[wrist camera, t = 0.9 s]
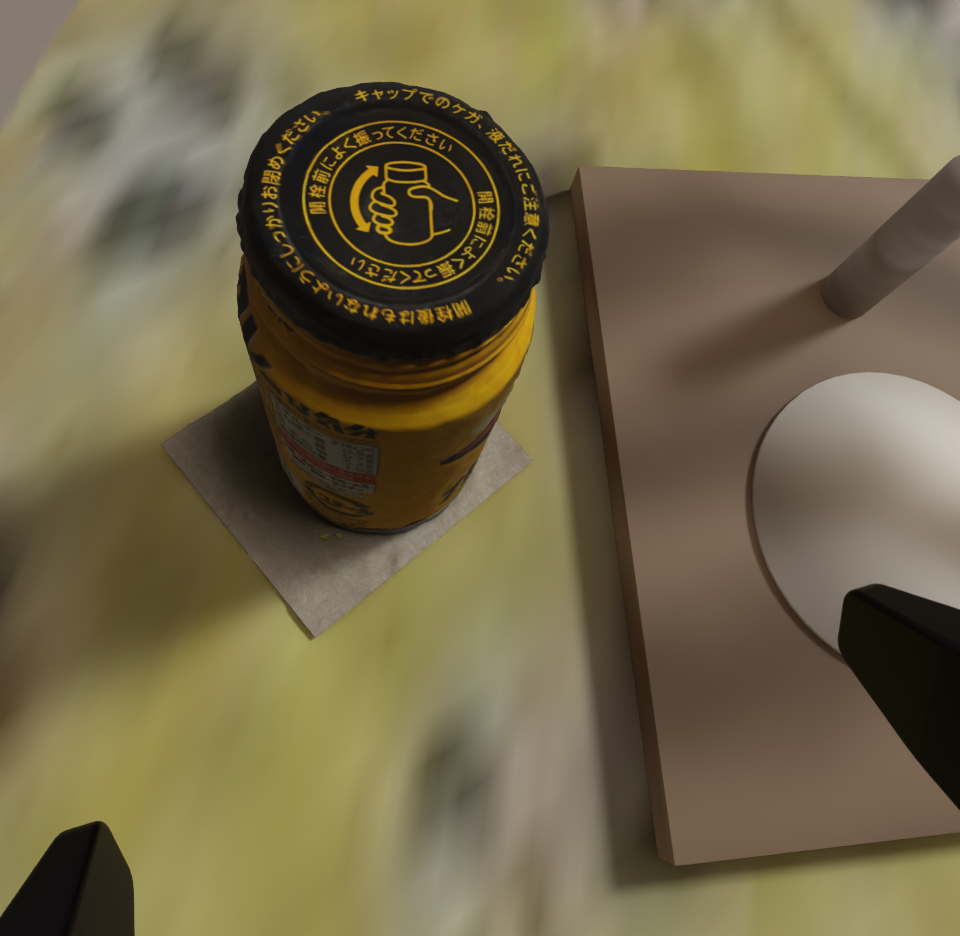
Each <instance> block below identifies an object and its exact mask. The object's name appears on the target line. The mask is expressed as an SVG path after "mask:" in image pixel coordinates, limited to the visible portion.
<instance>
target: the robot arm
mask: <svg viewBox="0 0 960 936" xmlns="http://www.w3.org/2000/svg"><path fill="white" fill-rule="evenodd" d="M838 647H839V650H840V653H841V655H842V657H843V659H844V661H845V662H846V663H847V665H848V666H849V668H850V669H851V670H852V672H853V673H854V675H855V676H856V677H857V679H858V680H859V682H860V683H861V684H862V686H863V687H864V689H865V690H866V691H867V693H868V694H869V696H870V697H871V698H872V700H873V701H874V703H875V704H876V705H877V707H878V708H879V709H880V711H881V712H882V714H883V715H884V716H885V718H886V719H887V721H888V722H889V723H890V725H891V726H892V728H893V729H894V730H895V732H896V733H897V735H898V736H899V737H900V739H901V740H902V742H903V743H904V744H905V746H906V747H907V748H908V750H909V751H910V752H911V754H912V755H913V756H914V758H915V759H916V760H917V761H918V763H919V764H920V765H921V766H922V767H923V769H924V770H925V771H926V772H927V773H928V775H929V776H930V777H931V778H932V779H933V780H934V782H935V783H936V784H937V785H938V786H939V787H940V789H941V790H942V791H943V792H944V793H945V794H946V795H947V797H948V798H949V799H950V800H951V801H952V802H953V804H954V805H955V806H956V807H957V808H958V809H959V811H960V609H957V608H954V607H951V606H948V605H945V604H942V603H939V602H936V601H933V600H930V599H927V598H924V597H920V596H917V595H914V594H911V593H908V592H905V591H902V590H899V589H896V588H893V587H890V586H886V585H883V584H878V583H875V584H869V585H866V586H863V587H860V588H856V589H853V590H850V591H849V592H847V594H846V595H845V597H844V600H843V605H842V612H841V618H840V625H839V632H838ZM0 936H135V932H134V887H133V880H132V875H131V872H130V869H129V866H128V864H127V862H126V860H125V858H124V857H123V855H122V853H121V851H120V849H119V847H118V845H117V843H116V841H115V839H114V837H113V835H112V833H111V831H110V829H109V827H108V826H107V825H106V824H105V823H104V822H102V821H95V822H91V823H88V824H85V825H82V826H78V827H75V828H72V829H69V830H66V831H63V832H62V833H60V834H59V835H58V836H57V837H56V838H55V839H54V841H53V842H52V843H51V845H50V846H49V848H48V849H47V851H46V852H45V853H44V855H43V856H42V858H41V859H40V861H39V862H38V864H37V865H36V866H35V868H34V869H33V871H32V872H31V874H30V875H29V876H28V878H27V879H26V881H25V882H24V884H23V885H22V887H21V888H20V889H19V891H18V892H17V894H16V895H15V897H14V898H13V900H12V901H11V902H10V904H9V905H8V907H7V908H6V910H5V911H4V912H3V914H2V915H1V917H0Z"/></svg>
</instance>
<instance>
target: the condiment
mask: <svg viewBox="0 0 960 936" xmlns="http://www.w3.org/2000/svg"><path fill="white" fill-rule="evenodd" d="M238 209H239V212H238V214H237V215H236V222H237V232H238V234H239V236H240V238H241V243H240V245H241V249H242V251H243V252H244V254H243V255H242V257H241V265H240V270H239V280H238V284H237V303H238V318H239V321H240V325H241V329H242V333H243V338H244V341H245V344H246V347H247V351H248V354H249V356H250V361H251V363H252V366H253V370H254V373H255V376H256V381H255V382H254V383H253V384H252V385H250V386H249V387H247V388H246V389H245V390H243V391H242V392H240V393H238V394H236V395H235V396H233V397H232V398H231V399H229V400H228V401H227V402H225V403H224V404H222V405H221V406H219V407H217V408H216V409H214V410H213V411H212V412H210V413H208V414H207V415H205V416H203V417H201V418H200V419H198V420H197V421H195V422H193V423H191V424H189V425H188V426H186V427H185V428H184V429H182V430H181V431H180V432H178V433H177V434H175V435H174V436H172V437H171V438H169V439H168V440H166V441H165V442H163V443H162V444H161V446H162V447H163V448H164V449H165V451H166V452H167V453H168V454H169V456H170V457H171V458H172V460H173V461H174V462H175V463H176V464H177V465H178V467H179V468H180V469H181V471H182V472H183V473H184V474H185V476H186V477H187V478H188V479H189V481H190V482H191V483H192V484H193V486H194V487H195V488H196V489H197V491H198V492H199V493H200V494H201V496H202V497H203V498H204V499H205V501H206V502H207V503H208V504H209V505H210V507H211V508H212V510H213V511H214V512H215V513H216V515H217V516H218V517H219V518H220V519H221V521H222V522H223V523H224V524H225V525H226V527H227V528H228V529H229V531H230V532H231V533H232V534H233V536H234V537H235V538H236V539H237V541H238V542H239V543H240V544H241V546H242V547H243V548H244V549H245V551H246V552H247V553H248V554H249V555H250V556H251V558H252V560H253V561H254V562H255V563H256V564H257V566H258V567H259V568H260V569H261V570H262V572H263V573H264V574H265V575H266V576H267V578H268V579H269V580H270V582H271V583H272V584H273V585H274V587H275V588H276V589H277V590H278V592H279V593H280V594H281V595H282V597H283V598H284V599H285V600H286V602H287V603H288V604H289V605H290V606H291V608H292V609H293V610H294V612H295V613H296V614H297V615H298V617H299V618H300V619H301V620H302V622H303V623H304V624H305V625H306V627H307V628H308V629H309V630H310V631H311V633H312V634H313V635H314V637H315V638H316V637H318V636H319V635H320V634H321V633H323V632H324V631H325V630H326V629H327V628H329V627H330V626H331V625H332V624H333V623H335V622H336V621H337V620H338V619H339V618H341V617H342V616H343V615H344V614H346V613H347V612H348V611H349V610H351V609H352V608H353V607H354V606H356V605H357V604H358V603H359V602H361V601H362V600H363V599H364V598H365V597H366V596H368V595H369V594H370V593H371V592H372V591H374V590H375V589H376V588H377V587H379V586H380V585H381V584H382V583H383V582H384V581H386V580H387V579H388V578H390V577H391V576H392V575H393V574H395V573H396V572H397V571H398V570H399V569H401V568H402V567H403V566H404V565H406V564H407V563H408V562H409V561H411V560H412V559H413V558H414V557H416V556H417V555H418V554H419V553H421V552H422V551H423V550H424V549H426V548H427V547H428V546H429V545H431V544H432V543H433V542H434V541H436V540H437V539H438V538H439V537H440V536H442V535H443V534H444V533H445V532H447V531H448V530H449V529H450V528H451V527H453V526H454V525H455V524H456V523H458V522H459V521H460V520H461V519H462V518H464V517H465V516H466V515H467V514H469V513H470V512H471V511H472V510H473V509H475V508H476V507H477V506H478V505H480V504H481V503H482V502H483V501H485V500H486V499H487V498H488V497H489V496H491V495H492V494H493V493H494V492H495V491H497V490H498V489H499V488H500V487H501V486H503V485H504V484H505V483H507V482H508V481H509V480H510V479H511V478H513V477H514V476H515V475H516V474H517V473H519V472H520V471H521V470H522V469H524V468H525V467H526V466H527V465H528V464H529V463H530V462H532V461H533V460H532V459H531V458H530V457H529V456H528V455H527V454H526V452H525V451H524V450H523V449H522V448H521V447H520V446H519V445H518V443H517V442H516V441H515V440H514V439H513V438H512V437H511V435H510V434H509V433H508V432H507V431H506V430H504V428H503V427H502V426H501V425H500V423H499V422H498V421H497V420H498V417H499V415H500V412H501V409H502V407H503V404H504V403H505V402H506V399H507V397H508V396H509V394H510V392H511V391H512V388H513V385H514V381H515V380H516V379H517V377H518V376H519V374H520V370H521V367H522V364H523V362H524V358H525V356H526V354H527V352H528V348H529V346H530V343H531V339H532V334H533V328H534V314H535V306H536V295H535V285H536V284H538V283H539V281H540V279H541V271H542V262H543V261H544V259H545V258H546V248H547V246H548V238H549V218H548V208H547V205H546V202H545V199H544V194H543V190H542V187H541V184H540V181H539V178H538V176H537V174H536V172H535V170H534V168H533V166H532V164H531V163H530V162H529V160H528V159H527V157H526V156H525V154H524V153H523V152H522V150H521V149H520V148H519V147H518V146H517V145H516V144H515V143H514V142H513V141H512V140H511V138H510V137H509V136H508V135H507V134H506V133H505V132H504V131H503V129H502V128H501V127H500V126H499V125H497V124H496V123H495V122H494V121H493V119H492V118H491V116H490V115H489V114H488V113H487V112H486V111H480V110H476V109H474V108H471V107H470V106H469V105H467V104H466V103H464V102H463V101H461V100H460V99H457V98H455V97H453V96H451V95H448V94H446V93H444V92H440V91H436V90H432V89H428V88H422V87H418V86H409V85H404V84H401V83H397V82H372V83H361V84H357V85H354V86H350V87H342V88H336V89H333V90H329V91H326V92H320V93H318V94H316V95H314V96H313V97H311V98H309V99H307V100H306V101H304V102H303V103H301V104H299V105H297V106H295V107H294V108H292V109H291V110H288V111H287V112H285V113H284V114H283V115H281V116H280V117H279V118H278V119H277V120H276V121H275V122H274V123H273V125H272V126H271V127H270V128H269V129H268V130H267V131H266V132H265V133H264V134H263V135H262V136H261V138H260V140H259V142H258V143H257V145H256V147H255V149H254V150H253V152H252V154H251V156H250V159H249V162H248V165H247V168H246V170H245V174H244V184H243V188H242V189H241V190H240V193H239V195H238ZM336 533H342V534H343V535H344V537H343V538H337V537H336V535H335V534H336ZM320 534H329V535H330V538H329V539H322V538H320V536H319V535H320Z"/></svg>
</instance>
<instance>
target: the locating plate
mask: <svg viewBox="0 0 960 936" xmlns="http://www.w3.org/2000/svg"><path fill="white" fill-rule="evenodd" d="M570 191H571V199H572V207H573V214H574V222H575V229H576V237H577V245H578V252H579V260H580V267H581V275H582V283H583V290H584V298H585V305H586V313H587V321H588V328H589V336H590V343H591V351H592V359H593V366H594V374H595V381H596V389H597V397H598V404H599V412H600V419H601V427H602V435H603V442H604V450H605V457H606V465H607V473H608V480H609V488H610V496H611V503H612V511H613V518H614V526H615V534H616V541H617V549H618V556H619V564H620V572H621V579H622V587H623V594H624V602H625V610H626V617H627V625H628V632H629V640H630V648H631V655H632V663H633V670H634V678H635V686H636V693H637V701H638V708H639V716H640V724H641V731H642V739H643V746H644V754H645V762H646V769H647V777H648V784H649V792H650V800H651V807H652V815H653V822H654V830H655V838H656V845H657V853H658V858H659V859H661V860H663V861H665V862H667V863H670V864H672V865H674V866H680V865H688V864H697V863H705V862H714V861H722V860H730V859H739V858H747V857H756V856H764V855H773V854H781V853H789V852H798V851H806V850H815V849H823V848H831V847H840V846H848V845H857V844H865V843H873V842H882V841H890V840H899V839H907V838H916V837H924V836H932V835H941V834H949V833H958V832H960V811H959V809H958V808H957V807H956V806H955V805H954V804H953V802H952V801H951V800H950V799H949V798H948V797H947V795H946V794H945V793H944V792H943V791H942V790H941V789H940V787H939V786H938V785H937V784H936V783H935V782H934V780H933V779H932V778H931V777H930V776H929V775H928V773H927V772H926V771H925V770H924V769H923V767H922V766H921V765H920V764H919V763H918V761H917V760H916V759H915V758H914V756H913V755H912V754H911V752H910V751H909V750H908V748H907V747H906V746H905V744H904V743H903V742H902V740H901V739H900V737H899V736H898V735H897V733H896V732H895V730H894V729H893V728H892V726H891V725H890V723H889V722H888V721H887V719H886V718H885V716H884V715H883V714H882V712H881V711H880V709H879V708H878V707H877V705H876V704H875V703H874V701H873V700H872V698H871V697H870V696H869V694H868V693H867V691H866V690H865V689H864V687H863V686H862V684H861V683H860V682H859V680H858V679H857V677H856V676H855V675H854V673H853V672H852V670H851V669H850V668H849V666H848V665H847V663H846V662H845V661H844V659H843V657H842V655H841V653H840V650H839V647H838V632H839V625H840V618H841V612H842V605H843V600H844V597H845V595H846V594H847V592H849V591H850V590H853V589H856V588H860V587H863V586H866V585H869V584H875V583H878V584H883V585H886V586H890V587H893V588H896V589H899V590H902V591H905V592H908V593H911V594H914V595H917V596H920V597H924V598H927V599H930V600H933V601H936V602H939V603H942V604H945V605H948V606H951V607H954V608H957V609H960V156H957V157H955V158H953V159H952V160H951V161H950V162H949V163H948V164H946V165H945V166H944V167H943V168H942V169H941V170H940V171H939V172H938V173H937V174H936V175H935V176H934V177H933V178H932V179H931V180H922V179H897V178H872V177H846V176H821V175H796V174H771V173H745V172H720V171H695V170H670V169H644V168H619V167H594V166H579V167H578V170H577V172H576V175H575V177H574V180H573V182H572V185H571V187H570Z"/></svg>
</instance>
